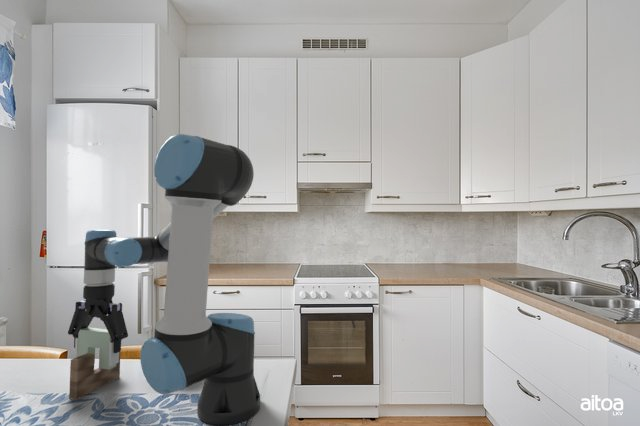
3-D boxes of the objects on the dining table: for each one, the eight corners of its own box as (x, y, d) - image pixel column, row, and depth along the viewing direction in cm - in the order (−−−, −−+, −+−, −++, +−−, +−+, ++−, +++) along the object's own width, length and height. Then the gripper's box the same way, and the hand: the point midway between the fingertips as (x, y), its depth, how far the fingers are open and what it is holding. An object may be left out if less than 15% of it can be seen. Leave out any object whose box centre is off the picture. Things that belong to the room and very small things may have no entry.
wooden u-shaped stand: (112, 376, 104) (114, 342, 105) (119, 377, 104) (120, 343, 104) (69, 398, 91) (70, 359, 91) (76, 399, 90) (77, 360, 91)
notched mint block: (116, 366, 98) (117, 330, 98) (109, 369, 95) (110, 332, 96) (84, 362, 100) (86, 327, 101) (77, 365, 98) (78, 329, 98)
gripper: (143, 283, 99) (141, 361, 99) (78, 280, 105) (75, 353, 104) (123, 288, 92) (120, 371, 91) (54, 283, 98) (51, 362, 97)
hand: (96, 362), depth 98 cm, fingers closed on notched mint block, 11 cm apart
